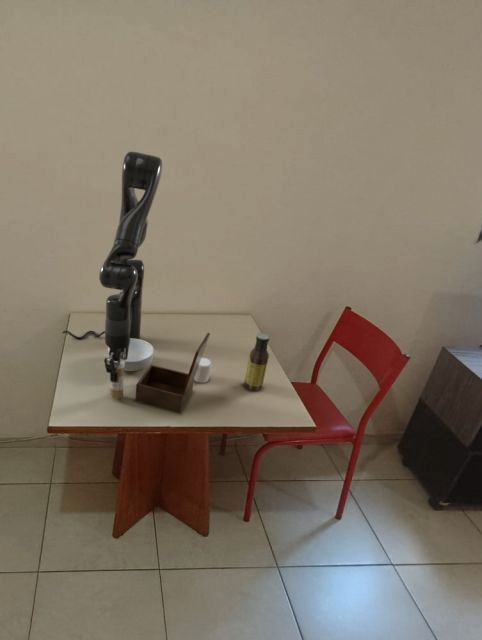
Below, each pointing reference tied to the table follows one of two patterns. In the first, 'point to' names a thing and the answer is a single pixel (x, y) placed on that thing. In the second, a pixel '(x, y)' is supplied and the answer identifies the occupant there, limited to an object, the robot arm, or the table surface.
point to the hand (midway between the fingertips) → (116, 377)
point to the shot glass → (203, 370)
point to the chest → (163, 388)
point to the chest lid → (195, 363)
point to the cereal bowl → (138, 355)
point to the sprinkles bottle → (118, 382)
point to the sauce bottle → (257, 363)
